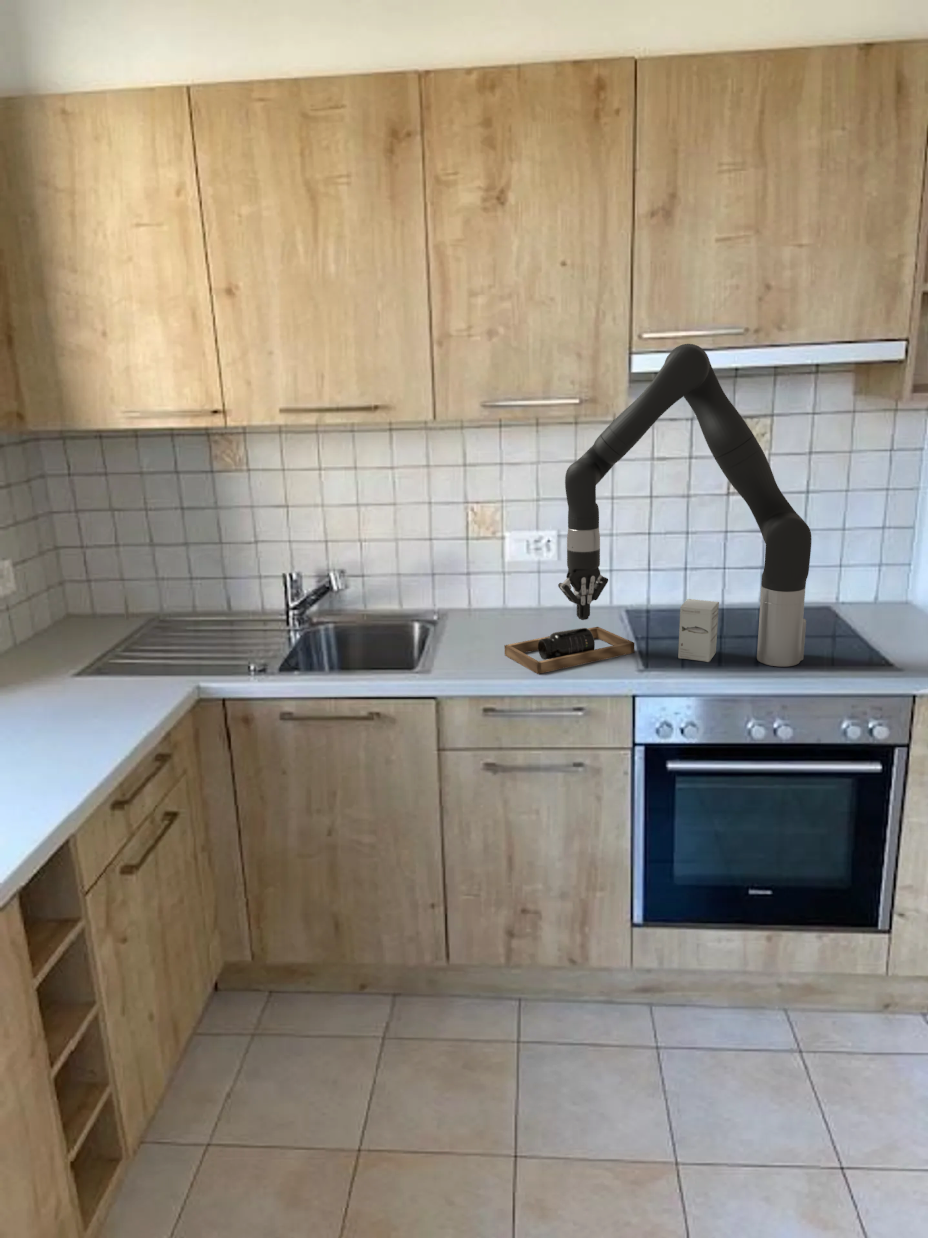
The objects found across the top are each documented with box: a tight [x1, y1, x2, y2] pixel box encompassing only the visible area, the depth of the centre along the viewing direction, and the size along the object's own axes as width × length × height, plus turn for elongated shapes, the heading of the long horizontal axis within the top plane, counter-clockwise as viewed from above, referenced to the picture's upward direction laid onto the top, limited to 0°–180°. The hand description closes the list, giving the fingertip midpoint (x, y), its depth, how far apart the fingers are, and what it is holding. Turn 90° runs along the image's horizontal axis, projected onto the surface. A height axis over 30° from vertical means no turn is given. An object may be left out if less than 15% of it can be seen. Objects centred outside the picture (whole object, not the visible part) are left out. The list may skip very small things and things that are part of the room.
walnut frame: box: [504, 626, 635, 675], centre depth 212 cm, size 26×15×2 cm, turn 117°
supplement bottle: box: [537, 627, 596, 661], centre depth 208 cm, size 7×7×12 cm
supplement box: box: [677, 598, 720, 663], centre depth 206 cm, size 7×7×13 cm
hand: (583, 618), depth 212 cm, fingers closed
